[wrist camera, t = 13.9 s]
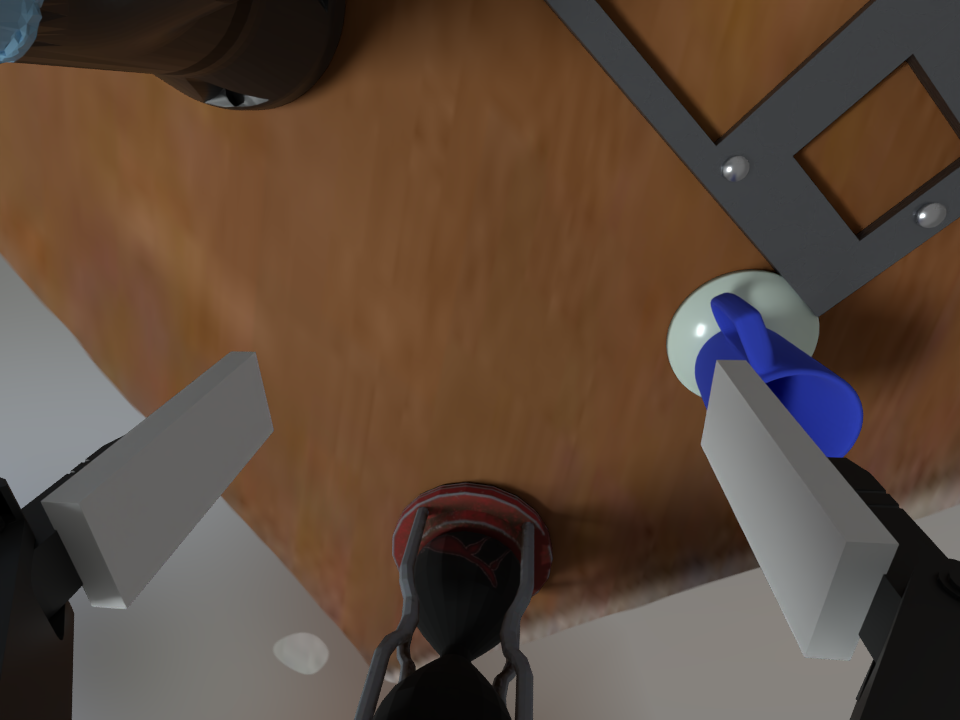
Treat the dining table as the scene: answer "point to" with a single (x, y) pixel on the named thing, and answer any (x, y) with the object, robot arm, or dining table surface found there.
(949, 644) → the robot arm
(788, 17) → the dining table surface
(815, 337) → the pale grey rounded piece
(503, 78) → the dining table surface
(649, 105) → the gray cutout board
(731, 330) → the mug
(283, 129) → the dining table surface
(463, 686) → the hourglass
